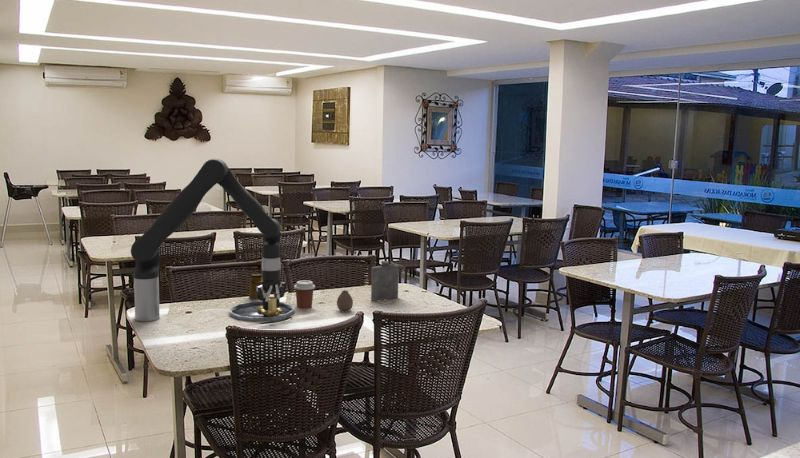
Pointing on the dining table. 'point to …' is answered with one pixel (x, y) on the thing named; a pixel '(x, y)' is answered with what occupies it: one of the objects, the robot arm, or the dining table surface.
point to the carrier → (253, 312)
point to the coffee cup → (304, 293)
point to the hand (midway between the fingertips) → (271, 308)
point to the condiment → (254, 285)
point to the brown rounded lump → (344, 301)
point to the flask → (384, 281)
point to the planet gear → (272, 307)
